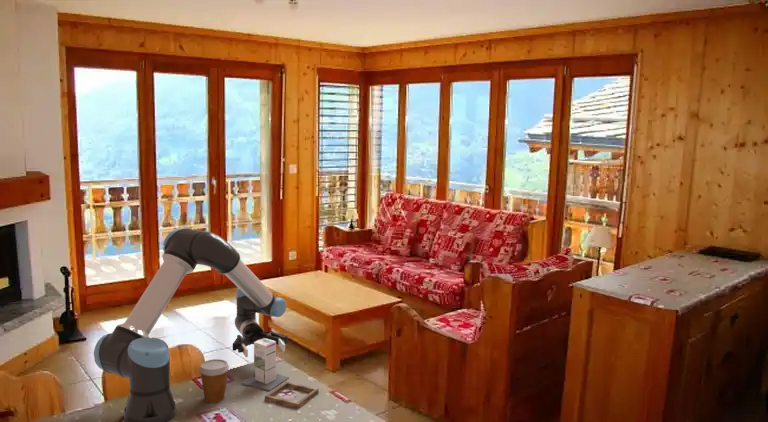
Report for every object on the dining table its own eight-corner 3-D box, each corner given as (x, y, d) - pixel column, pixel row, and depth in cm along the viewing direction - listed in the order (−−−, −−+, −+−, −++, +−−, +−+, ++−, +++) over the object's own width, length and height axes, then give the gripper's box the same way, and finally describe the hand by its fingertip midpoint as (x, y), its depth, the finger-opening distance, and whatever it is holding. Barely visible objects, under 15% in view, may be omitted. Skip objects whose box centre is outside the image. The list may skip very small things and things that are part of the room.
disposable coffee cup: (221, 406, 191) (220, 371, 189) (193, 403, 193) (193, 368, 191) (234, 394, 200) (234, 360, 199) (208, 391, 202) (207, 357, 200)
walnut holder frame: (264, 400, 196) (264, 396, 196) (286, 385, 208) (286, 381, 208) (298, 408, 191) (298, 404, 191) (318, 393, 203) (318, 388, 203)
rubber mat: (241, 384, 208) (241, 383, 208) (261, 372, 219) (261, 371, 219) (269, 391, 203) (269, 389, 203) (288, 378, 214) (288, 377, 214)
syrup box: (276, 379, 212) (276, 340, 210) (265, 385, 207) (265, 345, 205) (265, 375, 215) (265, 337, 213) (253, 380, 210) (253, 341, 208)
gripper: (283, 337, 236) (299, 355, 217) (219, 345, 225) (230, 365, 206) (283, 319, 235) (299, 336, 216) (219, 326, 224) (230, 345, 205)
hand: (265, 350), depth 211 cm, fingers open, 13 cm apart
